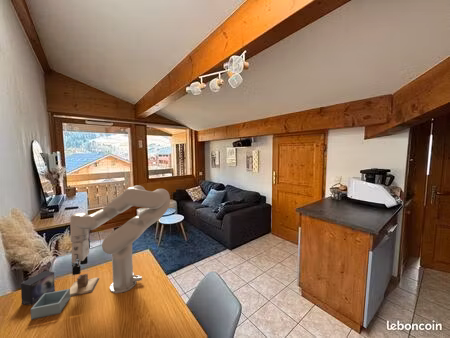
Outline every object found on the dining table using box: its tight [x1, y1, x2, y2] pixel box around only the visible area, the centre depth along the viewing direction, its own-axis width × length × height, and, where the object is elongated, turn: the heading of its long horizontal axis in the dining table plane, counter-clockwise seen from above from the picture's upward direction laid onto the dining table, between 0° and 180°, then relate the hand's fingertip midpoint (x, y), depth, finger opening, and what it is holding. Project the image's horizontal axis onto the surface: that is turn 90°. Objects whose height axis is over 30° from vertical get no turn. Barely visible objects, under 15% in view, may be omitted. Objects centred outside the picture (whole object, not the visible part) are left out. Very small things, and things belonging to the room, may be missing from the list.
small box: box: [20, 270, 56, 306], centre depth 94 cm, size 11×6×10 cm, turn 168°
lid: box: [69, 273, 99, 297], centre depth 101 cm, size 11×11×6 cm
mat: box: [70, 277, 100, 298], centre depth 101 cm, size 12×12×1 cm
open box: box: [30, 288, 71, 321], centre depth 87 cm, size 10×10×5 cm
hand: (80, 268), depth 100 cm, fingers open, 9 cm apart
